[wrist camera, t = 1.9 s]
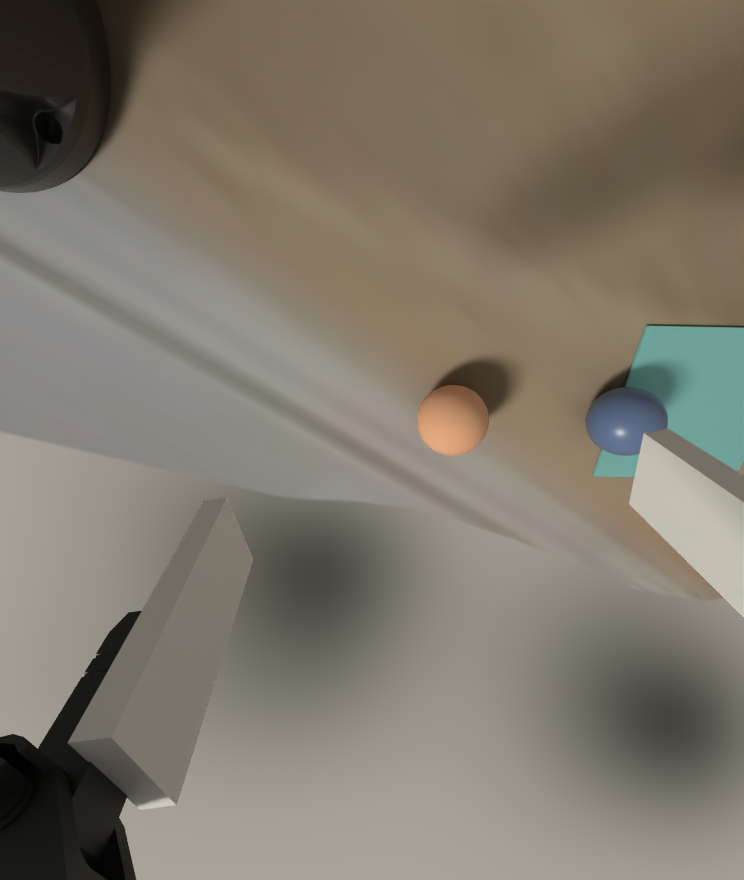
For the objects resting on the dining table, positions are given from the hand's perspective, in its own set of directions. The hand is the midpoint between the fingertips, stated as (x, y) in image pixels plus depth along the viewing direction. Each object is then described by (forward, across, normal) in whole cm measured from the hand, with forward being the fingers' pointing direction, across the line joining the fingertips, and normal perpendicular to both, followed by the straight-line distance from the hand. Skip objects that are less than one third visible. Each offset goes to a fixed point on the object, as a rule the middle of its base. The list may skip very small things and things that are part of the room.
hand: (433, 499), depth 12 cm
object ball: (+17, +18, -9) cm, 26 cm away
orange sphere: (+17, +4, -6) cm, 19 cm away
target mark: (+20, +26, -10) cm, 34 cm away
